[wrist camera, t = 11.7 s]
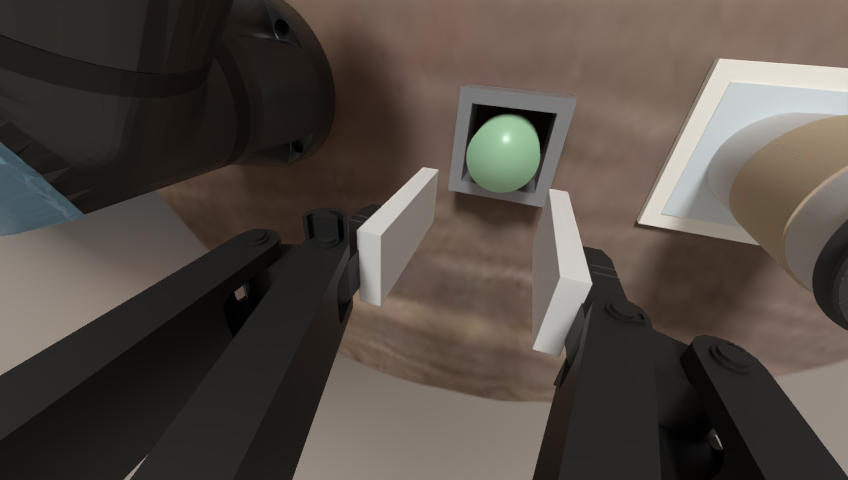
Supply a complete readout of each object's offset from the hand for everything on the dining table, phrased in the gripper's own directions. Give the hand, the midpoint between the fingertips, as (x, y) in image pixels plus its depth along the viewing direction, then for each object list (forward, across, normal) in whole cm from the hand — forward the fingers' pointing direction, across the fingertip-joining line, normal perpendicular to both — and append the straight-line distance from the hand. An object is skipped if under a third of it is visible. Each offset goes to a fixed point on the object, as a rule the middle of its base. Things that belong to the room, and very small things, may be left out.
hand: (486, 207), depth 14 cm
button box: (+15, 0, 0) cm, 15 cm away
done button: (+13, 0, 0) cm, 13 cm away
